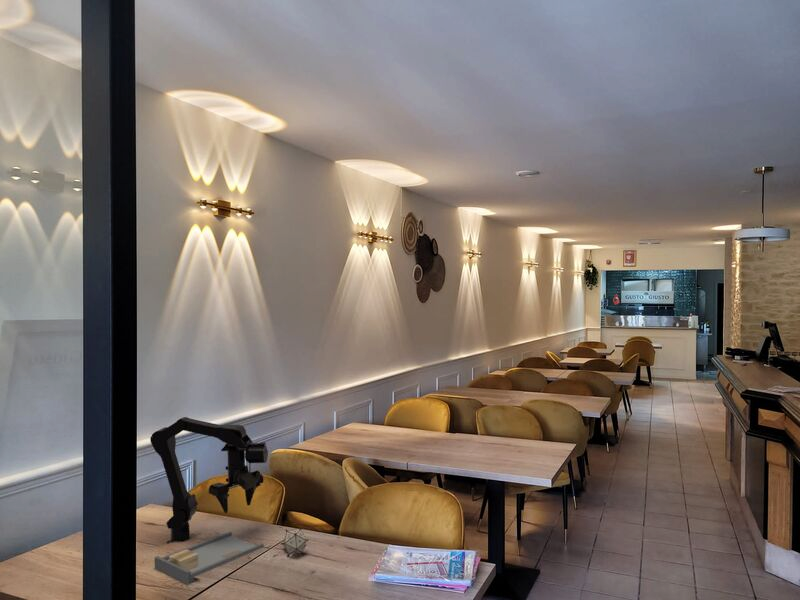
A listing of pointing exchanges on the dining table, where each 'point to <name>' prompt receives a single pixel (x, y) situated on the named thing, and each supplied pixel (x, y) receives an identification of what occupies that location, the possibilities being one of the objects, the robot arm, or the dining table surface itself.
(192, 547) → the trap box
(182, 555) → the maple block
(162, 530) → the dining table surface
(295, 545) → the wire geodesic ornament
